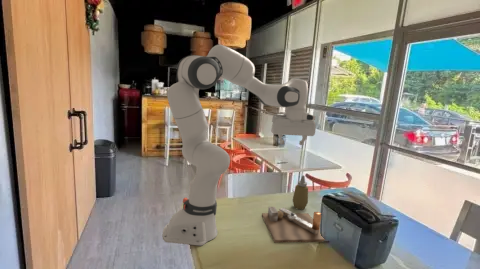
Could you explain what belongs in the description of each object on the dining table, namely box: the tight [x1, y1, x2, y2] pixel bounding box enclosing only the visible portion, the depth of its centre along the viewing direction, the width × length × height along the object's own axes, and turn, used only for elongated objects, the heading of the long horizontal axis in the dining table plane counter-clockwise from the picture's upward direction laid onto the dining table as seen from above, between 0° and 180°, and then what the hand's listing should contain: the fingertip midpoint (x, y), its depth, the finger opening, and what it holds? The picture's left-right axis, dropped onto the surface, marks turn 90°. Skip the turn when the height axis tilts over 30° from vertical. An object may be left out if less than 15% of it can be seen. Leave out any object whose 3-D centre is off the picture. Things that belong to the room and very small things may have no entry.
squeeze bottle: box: [292, 174, 309, 211], centre depth 141 cm, size 8×8×18 cm
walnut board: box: [261, 206, 325, 244], centre depth 120 cm, size 24×23×6 cm
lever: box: [278, 207, 322, 234], centre depth 122 cm, size 4×22×9 cm, turn 39°
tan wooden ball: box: [277, 210, 283, 219], centre depth 126 cm, size 4×4×4 cm
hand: (291, 144), depth 122 cm, fingers open, 8 cm apart
